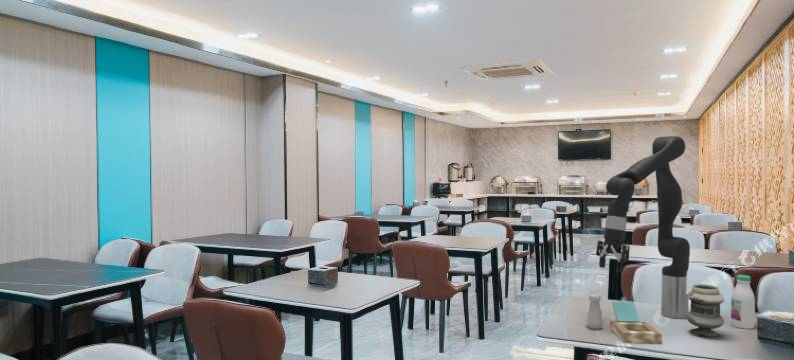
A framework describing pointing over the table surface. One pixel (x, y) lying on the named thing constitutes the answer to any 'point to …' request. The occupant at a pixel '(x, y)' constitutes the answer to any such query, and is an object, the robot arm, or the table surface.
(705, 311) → the apothecary jar
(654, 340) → the socket block
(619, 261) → the robot arm
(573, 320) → the table surface
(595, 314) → the salt shaker
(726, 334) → the table surface
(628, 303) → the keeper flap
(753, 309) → the milk bottle
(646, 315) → the table surface
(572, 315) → the table surface
